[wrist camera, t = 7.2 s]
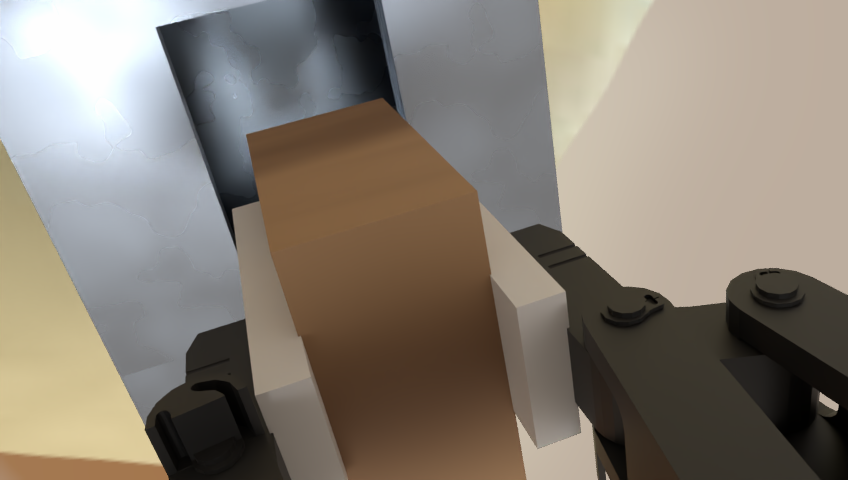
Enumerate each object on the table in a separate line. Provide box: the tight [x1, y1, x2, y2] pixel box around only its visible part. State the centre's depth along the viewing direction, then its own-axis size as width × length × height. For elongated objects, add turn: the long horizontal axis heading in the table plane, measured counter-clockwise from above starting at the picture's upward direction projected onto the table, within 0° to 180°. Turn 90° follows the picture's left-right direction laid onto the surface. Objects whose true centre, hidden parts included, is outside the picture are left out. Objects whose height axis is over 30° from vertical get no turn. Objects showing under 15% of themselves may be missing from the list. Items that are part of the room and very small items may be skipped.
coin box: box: [0, 0, 562, 426], centre depth 24 cm, size 18×14×10 cm
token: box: [246, 98, 526, 480], centre depth 14 cm, size 6×3×6 cm, turn 11°
